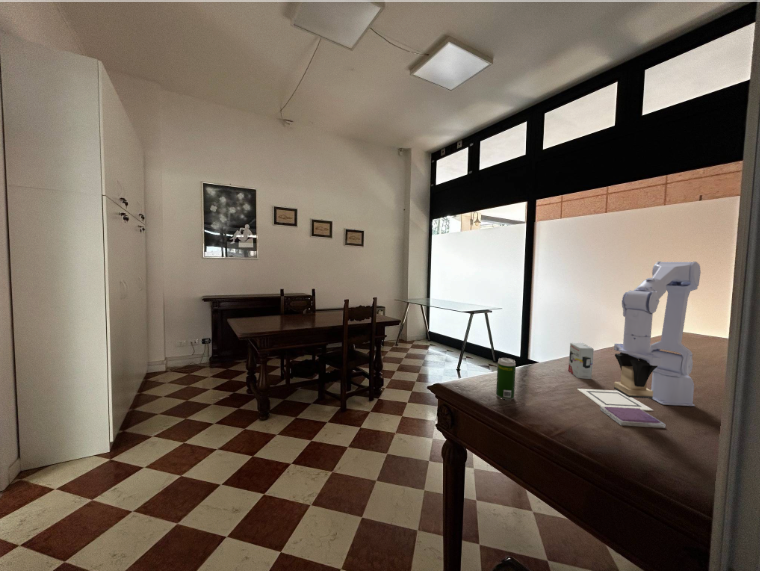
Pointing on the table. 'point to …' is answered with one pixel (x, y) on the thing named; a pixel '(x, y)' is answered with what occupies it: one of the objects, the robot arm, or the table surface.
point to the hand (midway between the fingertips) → (633, 383)
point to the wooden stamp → (631, 385)
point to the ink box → (581, 360)
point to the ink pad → (632, 417)
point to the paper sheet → (613, 399)
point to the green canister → (506, 378)
